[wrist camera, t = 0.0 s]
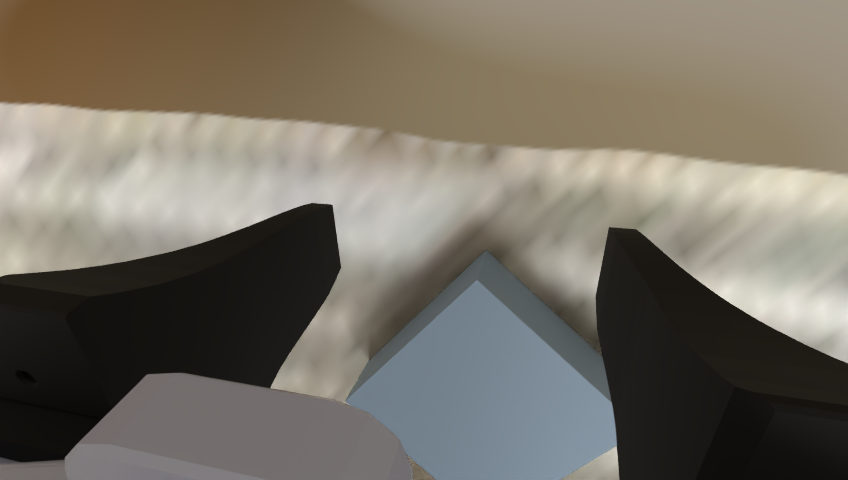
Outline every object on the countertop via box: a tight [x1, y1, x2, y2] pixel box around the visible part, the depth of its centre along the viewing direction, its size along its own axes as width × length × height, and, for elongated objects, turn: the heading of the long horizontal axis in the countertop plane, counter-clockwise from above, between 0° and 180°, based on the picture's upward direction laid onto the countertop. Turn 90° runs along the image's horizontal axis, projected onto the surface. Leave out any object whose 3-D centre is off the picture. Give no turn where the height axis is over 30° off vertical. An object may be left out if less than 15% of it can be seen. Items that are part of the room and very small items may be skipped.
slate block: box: [345, 250, 617, 480], centre depth 24 cm, size 10×10×4 cm
